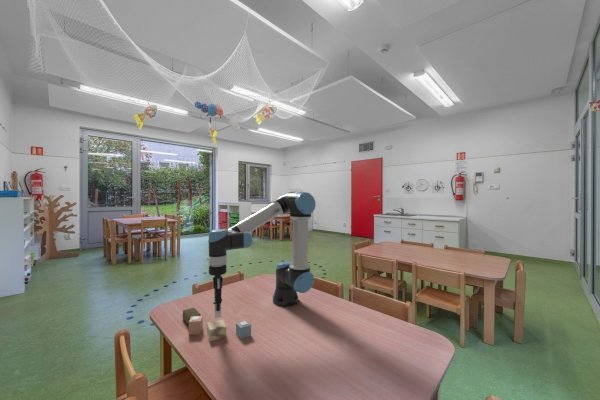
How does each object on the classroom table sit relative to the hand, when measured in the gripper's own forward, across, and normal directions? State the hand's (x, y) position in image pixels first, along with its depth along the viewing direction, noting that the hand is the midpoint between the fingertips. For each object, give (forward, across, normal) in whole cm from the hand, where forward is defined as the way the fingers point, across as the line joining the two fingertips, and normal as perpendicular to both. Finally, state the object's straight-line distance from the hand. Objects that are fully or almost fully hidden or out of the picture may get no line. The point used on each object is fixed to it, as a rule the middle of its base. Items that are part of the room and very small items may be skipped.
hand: (217, 316), depth 113 cm
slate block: (+8, +4, +11) cm, 14 cm away
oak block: (+8, 0, -1) cm, 8 cm away
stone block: (+8, -16, -11) cm, 22 cm away
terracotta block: (+8, -6, -9) cm, 14 cm away
